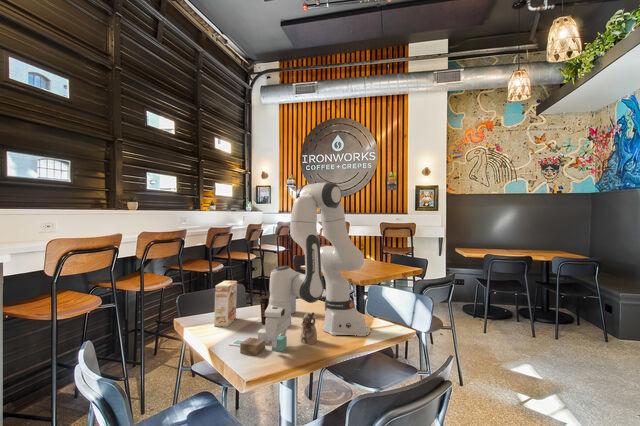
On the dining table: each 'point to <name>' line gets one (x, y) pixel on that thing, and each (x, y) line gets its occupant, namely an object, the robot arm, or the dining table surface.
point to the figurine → (308, 329)
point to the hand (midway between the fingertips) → (279, 342)
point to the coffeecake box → (225, 303)
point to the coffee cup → (264, 308)
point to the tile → (236, 342)
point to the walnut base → (252, 346)
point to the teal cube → (281, 343)
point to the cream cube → (263, 335)
